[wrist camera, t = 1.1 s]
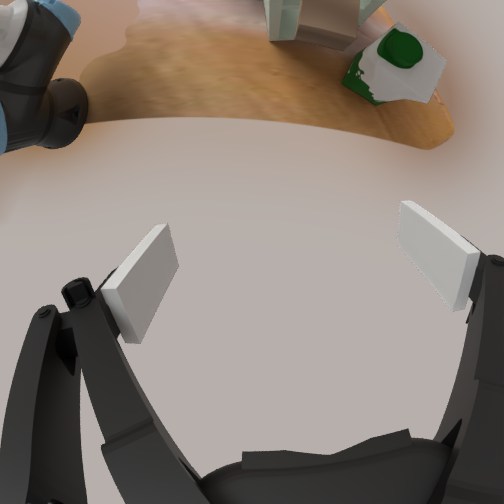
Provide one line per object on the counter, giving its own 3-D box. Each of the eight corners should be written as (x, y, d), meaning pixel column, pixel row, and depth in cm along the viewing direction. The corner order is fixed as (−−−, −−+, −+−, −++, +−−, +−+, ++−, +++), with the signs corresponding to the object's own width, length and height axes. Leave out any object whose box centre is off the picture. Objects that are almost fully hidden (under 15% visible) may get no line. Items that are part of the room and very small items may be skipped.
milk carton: (355, 47, 36) (403, 10, 18) (397, 76, 38) (462, 59, 20) (334, 85, 40) (375, 61, 22) (378, 113, 41) (439, 111, 23)
